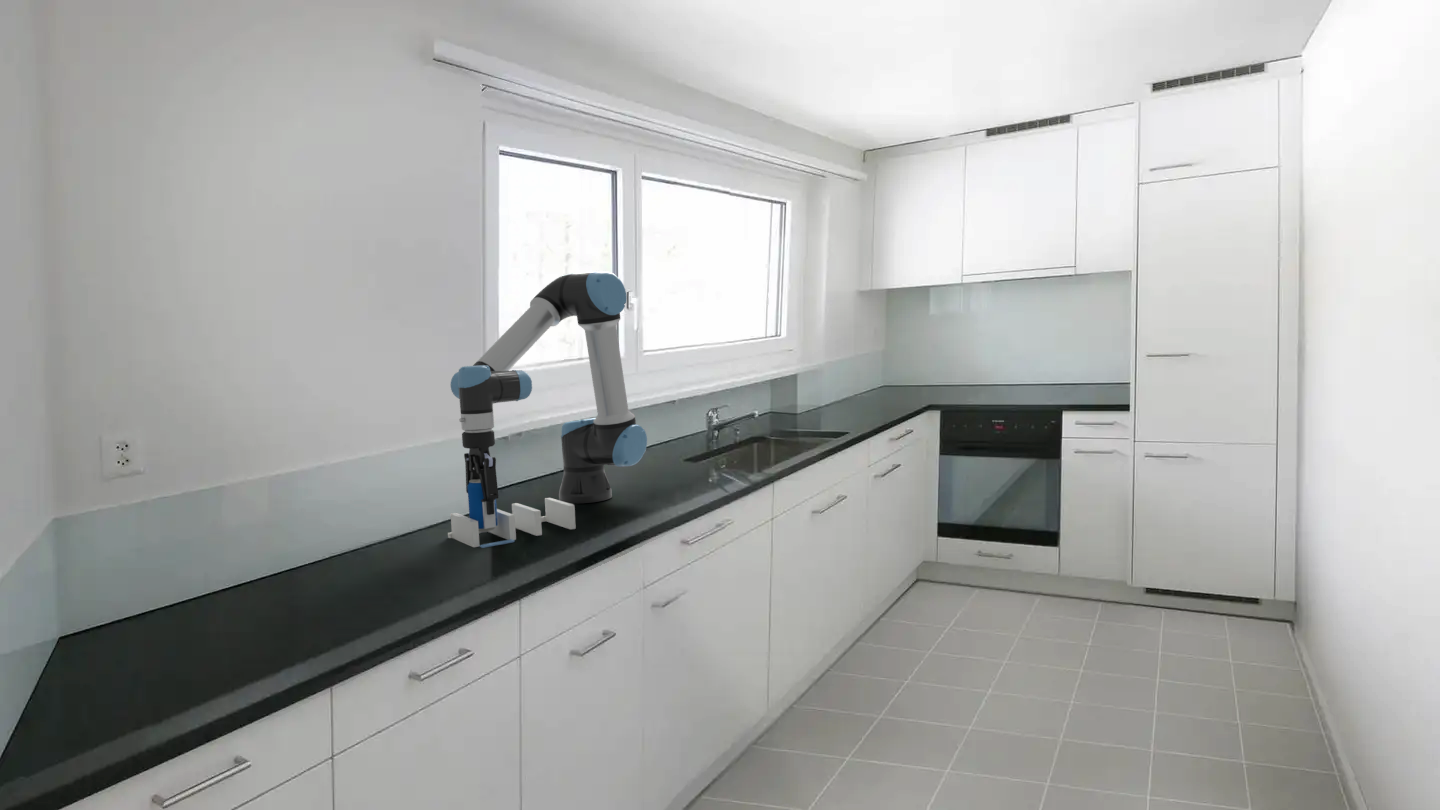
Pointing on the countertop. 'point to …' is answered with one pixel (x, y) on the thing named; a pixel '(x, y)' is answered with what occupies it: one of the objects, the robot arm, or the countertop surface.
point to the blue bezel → (496, 543)
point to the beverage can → (478, 504)
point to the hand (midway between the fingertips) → (484, 525)
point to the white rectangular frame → (514, 521)
